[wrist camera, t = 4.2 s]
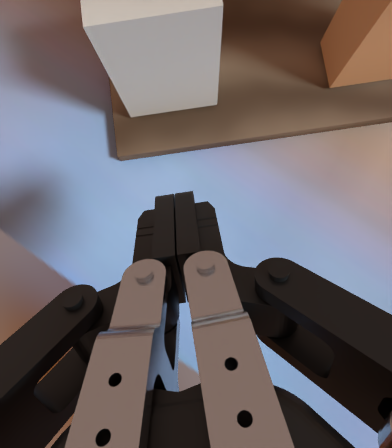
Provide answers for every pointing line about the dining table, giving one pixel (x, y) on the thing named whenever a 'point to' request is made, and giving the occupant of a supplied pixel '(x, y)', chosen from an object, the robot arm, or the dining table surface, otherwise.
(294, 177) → the dining table surface
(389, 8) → the two dot button
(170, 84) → the one dot button
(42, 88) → the dining table surface
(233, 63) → the console
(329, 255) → the dining table surface
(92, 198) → the dining table surface
